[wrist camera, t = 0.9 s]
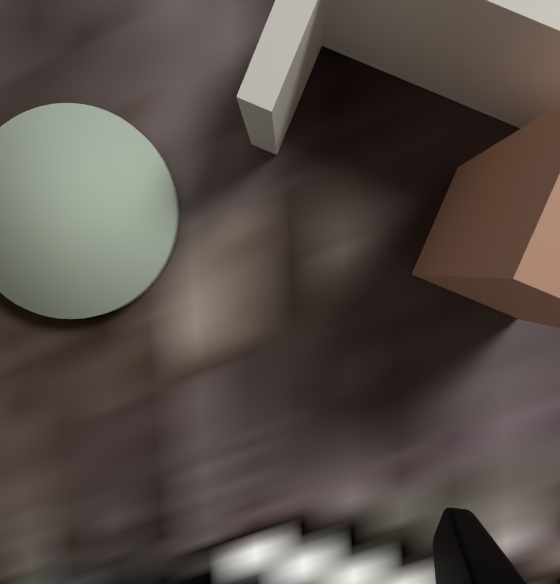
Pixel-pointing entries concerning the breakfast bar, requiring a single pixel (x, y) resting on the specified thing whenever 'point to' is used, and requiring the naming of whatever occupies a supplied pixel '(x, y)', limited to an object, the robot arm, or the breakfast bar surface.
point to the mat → (82, 211)
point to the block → (503, 227)
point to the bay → (409, 55)
